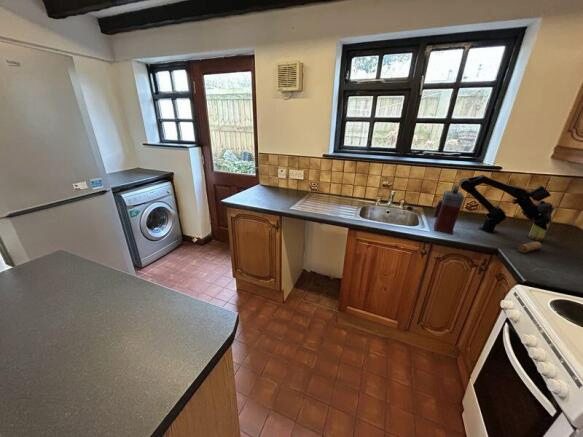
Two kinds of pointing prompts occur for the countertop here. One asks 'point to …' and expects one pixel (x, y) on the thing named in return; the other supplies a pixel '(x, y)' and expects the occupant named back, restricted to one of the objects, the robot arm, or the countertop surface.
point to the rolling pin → (529, 247)
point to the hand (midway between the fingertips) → (543, 227)
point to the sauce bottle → (538, 232)
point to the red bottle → (448, 210)
